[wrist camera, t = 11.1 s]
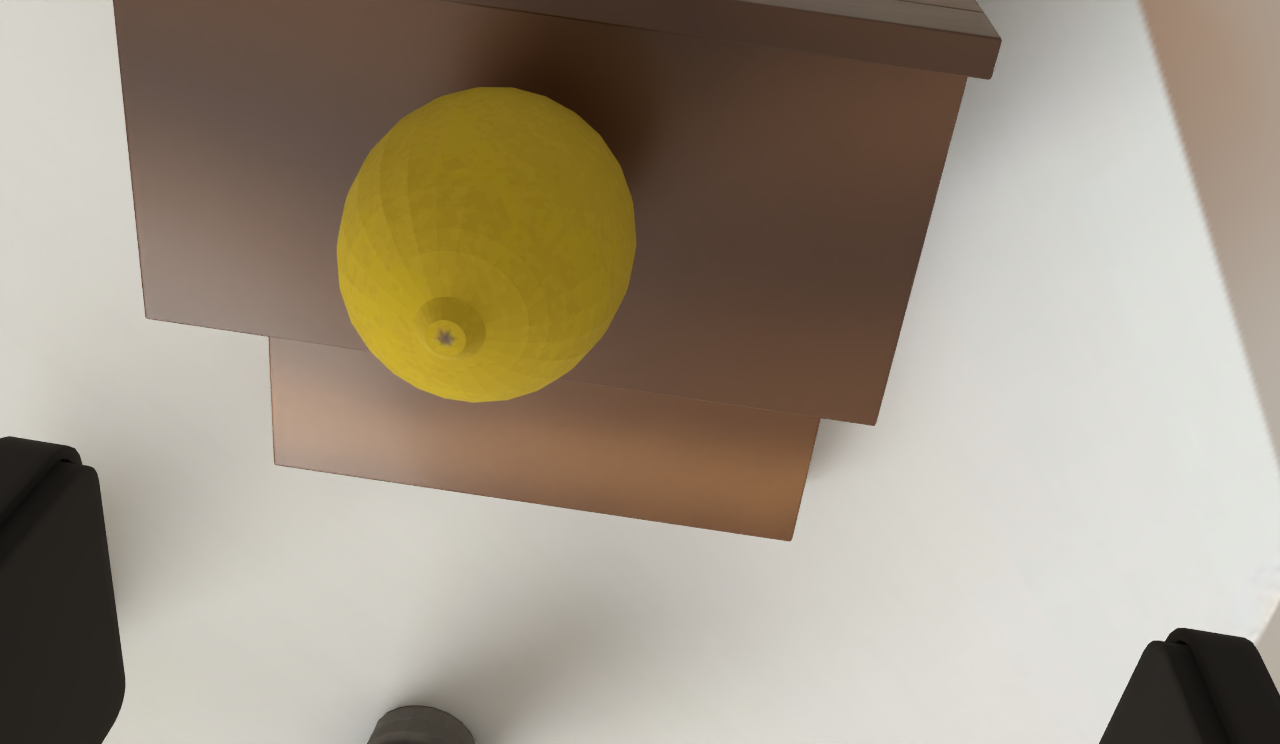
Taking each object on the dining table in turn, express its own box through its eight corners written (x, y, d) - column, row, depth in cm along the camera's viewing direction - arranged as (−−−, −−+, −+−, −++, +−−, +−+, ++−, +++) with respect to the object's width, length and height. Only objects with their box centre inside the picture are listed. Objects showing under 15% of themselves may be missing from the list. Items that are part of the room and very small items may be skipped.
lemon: (700, 195, 26) (680, 380, 20) (509, 320, 28) (430, 527, 22) (544, -14, 24) (461, 110, 18) (350, 135, 26) (207, 299, 20)
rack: (284, -175, 34) (49, -99, 22) (921, -84, 33) (1003, 39, 22) (301, 419, 44) (145, 675, 33) (789, 491, 44) (800, 773, 32)
